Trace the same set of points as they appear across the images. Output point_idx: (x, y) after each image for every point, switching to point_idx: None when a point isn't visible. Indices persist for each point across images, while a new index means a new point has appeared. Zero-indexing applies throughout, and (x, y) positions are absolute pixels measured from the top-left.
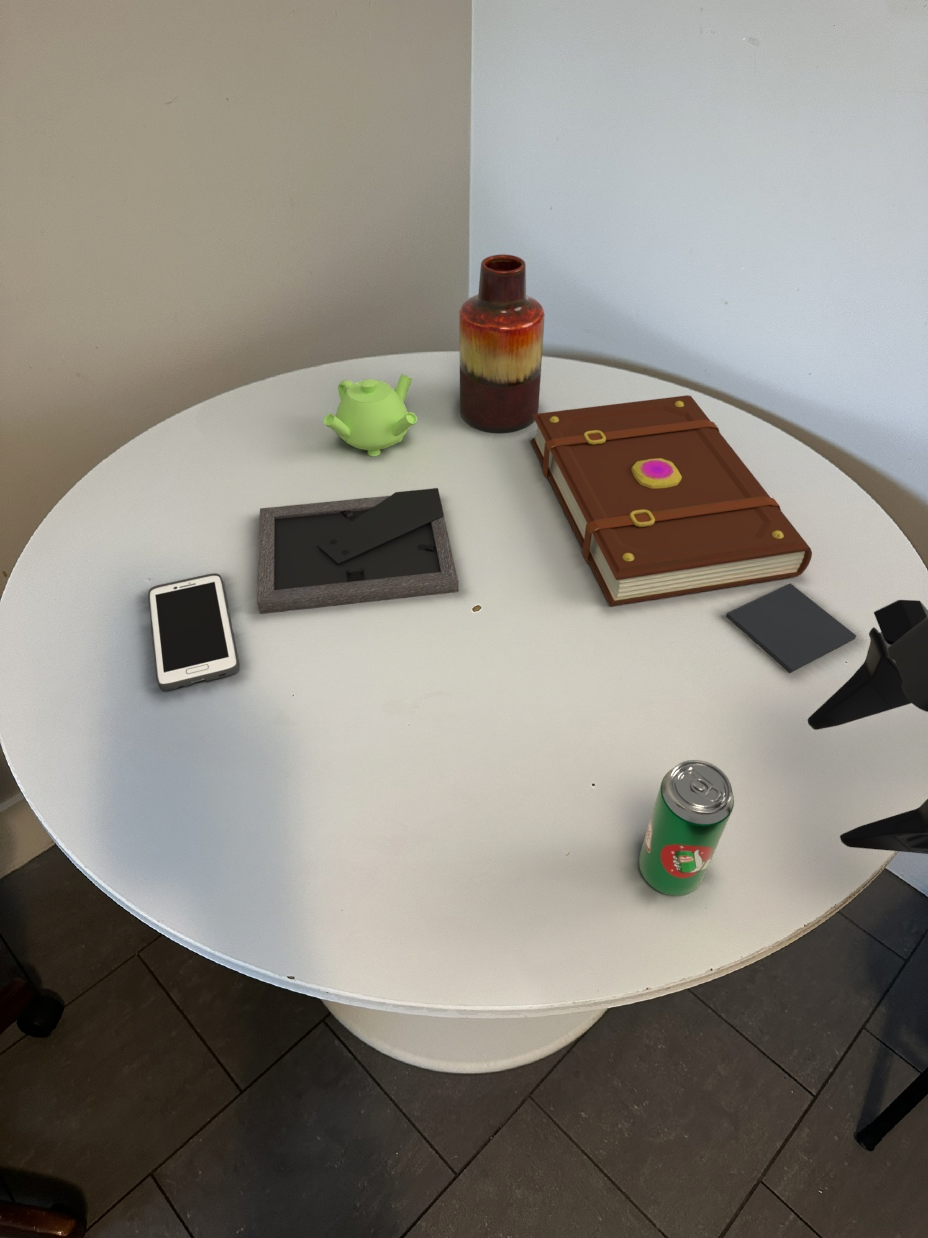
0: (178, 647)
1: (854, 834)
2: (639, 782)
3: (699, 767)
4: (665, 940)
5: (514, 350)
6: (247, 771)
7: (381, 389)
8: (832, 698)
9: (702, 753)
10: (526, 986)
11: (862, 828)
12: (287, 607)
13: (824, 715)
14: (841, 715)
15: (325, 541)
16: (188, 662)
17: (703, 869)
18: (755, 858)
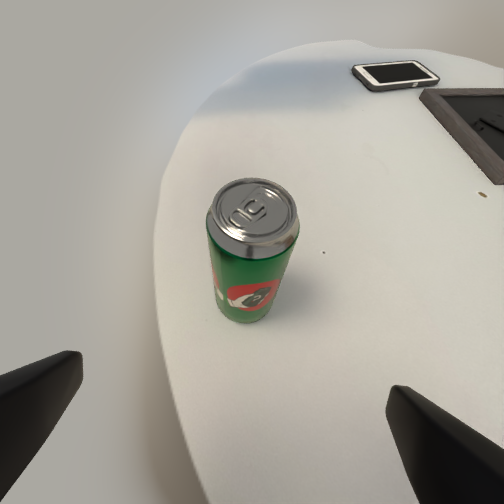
0: (379, 69)
1: (38, 366)
2: (331, 289)
3: (283, 211)
4: (182, 281)
5: None
6: (308, 96)
7: None
8: (499, 453)
9: (378, 359)
10: (168, 194)
11: (21, 381)
12: (428, 104)
13: (422, 419)
14: (441, 487)
15: (497, 112)
16: (370, 72)
17: (218, 294)
18: (254, 386)
